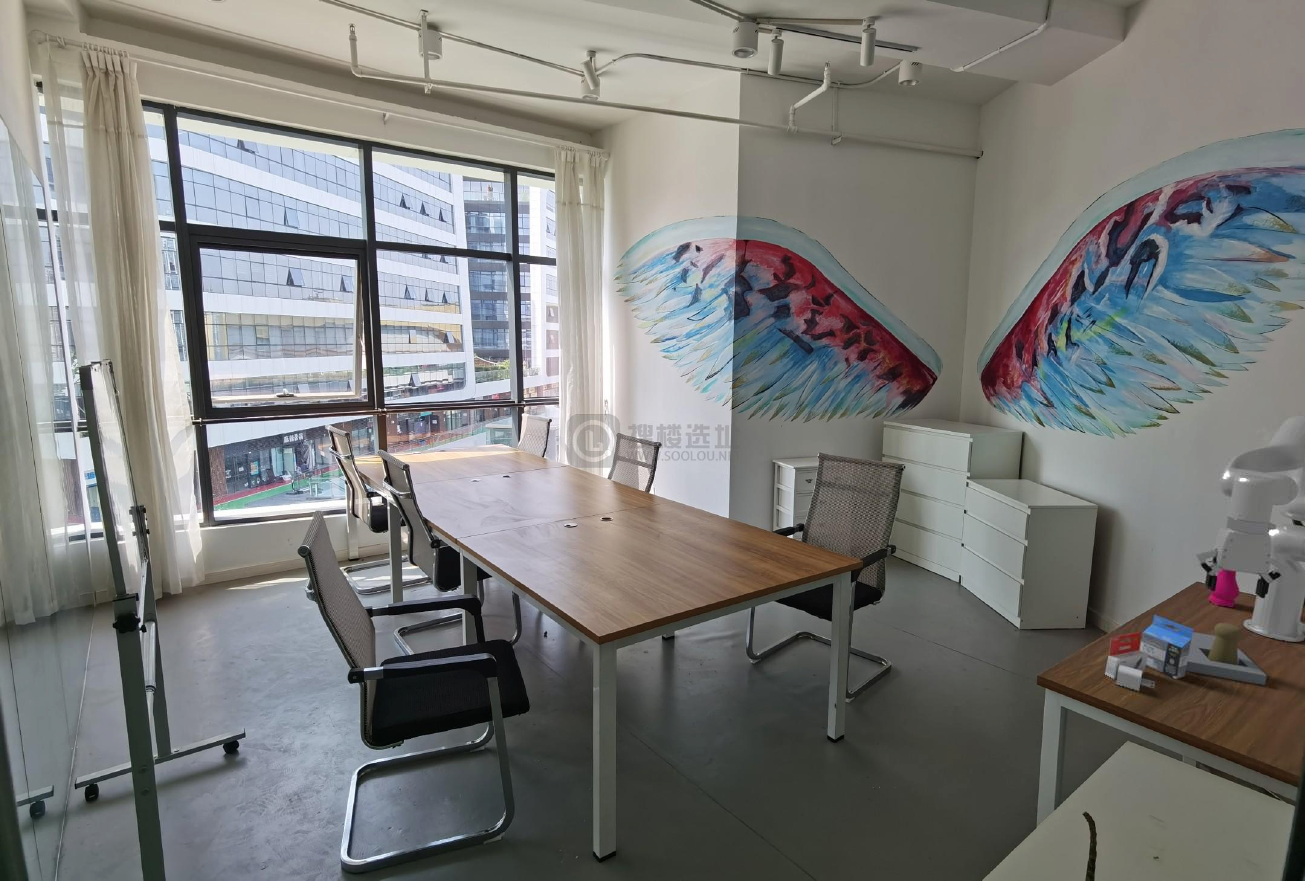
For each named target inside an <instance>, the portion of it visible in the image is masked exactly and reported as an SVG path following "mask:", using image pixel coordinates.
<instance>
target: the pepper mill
mask: <svg viewBox="0 0 1305 881" xmlns="http://www.w3.org/2000/svg"><path fill="white" fill-rule="evenodd" d="M1236 574H1237V571H1230V570H1224V569H1223V570H1221V571H1220V572H1218V573H1217V574H1216V576H1217V583H1216V589H1215V591H1211V590H1209V589H1208V591H1209V592H1210V595H1208V596H1209V597H1208V601H1209V600H1210V601H1211V602H1213V603H1215V604H1217V605H1216V606H1218V605H1222V606H1228V607H1230V606H1231V607H1232V606H1236V600H1235V599H1236V598H1238V597H1239V596H1240V587H1239V585H1238V582H1237V578H1236V576H1237V575H1236ZM1215 604H1214V605H1215ZM1222 606H1221V607H1222ZM1228 607H1227V608H1228Z"/></svg>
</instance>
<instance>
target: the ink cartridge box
mask: <svg viewBox="0 0 1305 881" xmlns="http://www.w3.org/2000/svg"><path fill="white" fill-rule="evenodd" d="M1141 634H1142V633H1141V631H1140V632H1134V633H1127V634H1123V635H1117V636H1111V637H1110V643H1109V651H1108V652H1109V653H1108V658H1107V661H1106V666H1105V672H1104V675H1105V676H1106V675H1107V676H1106V677H1108V676H1109V677H1108V678H1110V677H1111V679H1112V678H1113V679H1112V680H1117V679H1116V678H1117V675H1118V669H1119V665H1123V666H1127V667H1130V668H1134V669H1137V670H1141V671H1142V674H1144V673H1146V672H1145V671H1146V667H1147V666H1146V662H1147V657H1148V654H1146V653H1144V652H1142V651H1140V646H1141V638H1142V635H1141ZM1126 638H1127V639H1129V641H1124V642H1122V641H1123V640H1124V639H1126ZM1143 672H1144V673H1143Z"/></svg>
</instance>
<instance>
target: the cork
mask: <svg viewBox="0 0 1305 881" xmlns="http://www.w3.org/2000/svg"><path fill="white" fill-rule="evenodd" d="M1213 630H1214V634H1215V636H1216V637H1215V640H1214V642H1213V645H1212V648H1211V650H1210V653H1209V655H1208V659H1209V660H1210V661H1215V662H1221V663H1226V664H1232V665H1238V649H1239V648H1238V642H1239V641H1240V640H1241V639H1242V638H1243V632H1242V629H1241V628H1240V627H1238V626H1236V625H1233V624H1230V623H1227V622H1226V623H1225V622H1219V623H1217V624H1216V625H1215V626H1214V629H1213Z"/></svg>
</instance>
